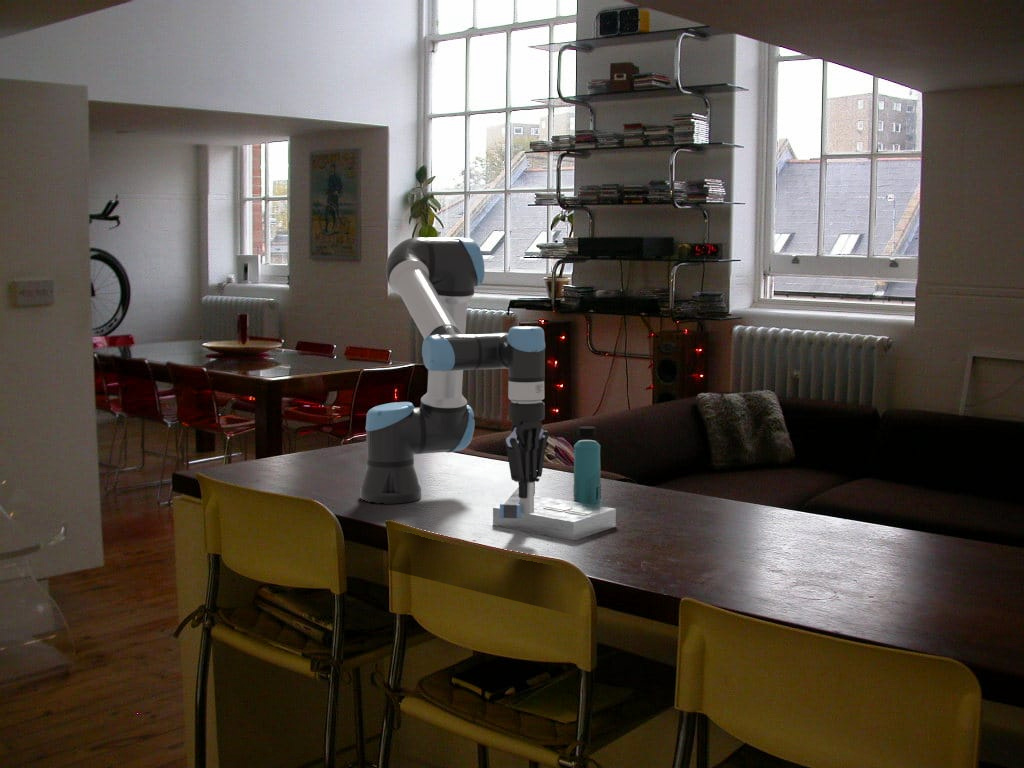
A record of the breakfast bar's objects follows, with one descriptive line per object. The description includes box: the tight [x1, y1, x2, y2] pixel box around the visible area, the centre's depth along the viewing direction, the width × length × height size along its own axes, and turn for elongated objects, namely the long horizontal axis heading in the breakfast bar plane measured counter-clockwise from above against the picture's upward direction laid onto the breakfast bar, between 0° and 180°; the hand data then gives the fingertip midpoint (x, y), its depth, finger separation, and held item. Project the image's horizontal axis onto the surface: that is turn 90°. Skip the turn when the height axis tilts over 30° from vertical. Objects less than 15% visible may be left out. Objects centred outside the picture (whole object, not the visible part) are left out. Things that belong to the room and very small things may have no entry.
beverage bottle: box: [572, 425, 602, 506], centre depth 258 cm, size 6×7×20 cm
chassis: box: [492, 495, 617, 542], centre depth 243 cm, size 22×16×8 cm
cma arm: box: [499, 487, 521, 519], centre depth 237 cm, size 18×4×3 cm, turn 170°
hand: (526, 512), depth 231 cm, fingers closed
